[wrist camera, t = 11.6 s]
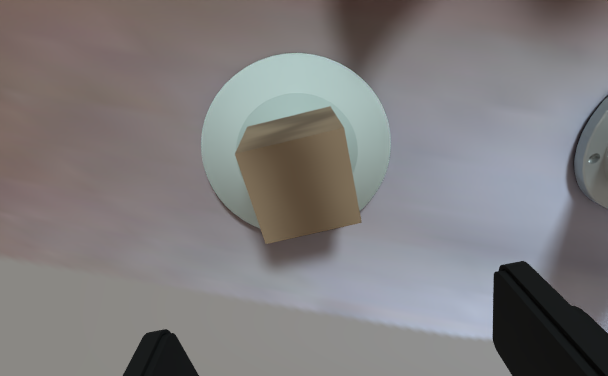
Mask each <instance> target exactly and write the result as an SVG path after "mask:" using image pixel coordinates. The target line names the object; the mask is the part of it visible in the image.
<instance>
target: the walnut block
mask: <svg viewBox="0 0 608 376" xmlns="http://www.w3.org/2000/svg"><path fill="white" fill-rule="evenodd" d="M235 156H236V159H237V162H238V165H239V168H240V171H241V174H242V177H243V180H244V183H245V185H246V188H247V191H248V194H249V197H250V200H251V203H252V206H253V209H254V211H255V214H256V217H257V220H258V223H259V226H260V229H261V232H262V235H263V237H264V240H265V243H266V244H269V243H273V242H278V241H282V240H287V239H291V238H296V237H300V236H304V235H309V234H313V233H318V232H322V231H327V230H331V229H335V228H340V227H344V226H349V225H353V224H358V223H362V222H361V217H360V211H359V206H358V200H357V195H356V189H355V184H354V178H353V173H352V168H351V162H350V157H349V151H348V146H347V140H346V135H345V130H344V127H343V125H342V124H341V122H340V120H339V119H338V117H337V116H336V114H335V113H334V111H333V110H332V108H331V107H330V106H329V107H325V108H321V109H317V110H313V111H309V112H305V113H301V114H297V115H293V116H289V117H284V118H280V119H276V120H272V121H268V122H264V123H260V124H256V125H252V126H248V127H247V128H246V131H245V133H244V135H243V137H242V139H241V141H240V144H239V146H238V148H237V150H236V152H235Z"/></svg>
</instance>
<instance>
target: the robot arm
mask: <svg viewBox="0 0 608 376" xmlns="http://www.w3.org/2000/svg"><path fill="white" fill-rule="evenodd" d="M574 165H575V176H576V180H577V183H578V185H579V187H580V189H581V190H582V192H583V193H584V194H585V195H586V196H587V197H588V198H589V199H590V200H592V201H594V202H595V203H597V204H599V205H601V206H603V207H605V208H607V209H608V97H607V98H606V99H605V100H604V101H603V102H602V103H601V104H600V106H599V107H598V108H597V110H596V111H595V112H594V114H593V115H592V116H591V118H590V120H589V121H588V123H587V125H586V127H585V128H584V130H583V132H582V135H581V137H580V140H579V143H578V145H577V149H576V155H575V160H574ZM493 342H494V345H495V348H496V350H497V352H498V354H499V355H500V357H501V358H502V360H503V361H504V363H505V365H506V366H507V368H508V369H509V371H510V372H511V374H512V376H608V333H607V332H606V331H605V330H604V329H603V328H601V327H600V326H599V325H598V324H597V323H596V322H595V321H594V320H593V319H592V318H591V317H590V316H589V315H588V314H587V313H585V312H584V311H583V310H582V309H580V308H578V307H576V306H571V305H570V304H569V303H568V302H567V301H566V300H565V299H564V298H563V297H562V296H561V295H560V294H559V293H558V292H557V291H556V290H555V289H554V288H552V287H551V286H550V285H549V284H548V283H547V282H546V281H545V280H544V279H543V278H542V277H541V276H540V275H539V274H538V273H537V272H536V271H535V270H534V269H533V268H532V267H531V266H530V265H529V264H528V263H526V262H524V261H520V262H515V263H510V264H505V265H501V266H500V267H499V271H498V272H495V273H494V293H493ZM123 376H199V375H198V374H197V372H196V370H195V368H194V366H193V365H192V363H191V361H190V360H189V358H188V356H187V354H186V352H185V351H184V349H183V347H182V345H181V344H180V342H179V340H178V338H177V337H176V335H175V334H174V333H170V331H168V330H167V329H165V330H159V331H154V332H149V333H146V334H145V335H144V336H143V338H142V340H141V342H140V344H139V346H138V348H137V350H136V351H135V353H134V355H133V357H132V359H131V361H130V363H129V365H128V367H127V369H126V371H125V373H124V374H123Z"/></svg>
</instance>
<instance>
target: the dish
mask: <svg viewBox="0 0 608 376" xmlns="http://www.w3.org/2000/svg"><path fill="white" fill-rule="evenodd" d="M329 106H330V107H331V108H332V110H333V111H334V113H335V114H336V116H337V117H338V119H339V120H340V122H341V124H342V125H343V127H344V130H345V135H346V140H347V146H348V151H349V157H350V162H351V168H352V173H353V178H354V184H355V189H356V195H357V200H358V206H359V211H360V210H362V209H363V208H364V207H365V206H366V205H367V203H368V202H369V201H370V200H371V199H372V198H373V196H374V195H375V193H376V192H377V190H378V189H379V187H380V185H381V183H382V181H383V179H384V176H385V174H386V171H387V168H388V163H389V159H390V150H391V137H390V129H389V124H388V120H387V117H386V114H385V111H384V109H383V107H382V105H381V103H380V101H379V99H378V97H377V96H376V95H375V93H374V92H373V90H372V89H371V88H370V87H369V85H368V84H367V83H366V82H365V81H364V80H363V79H362V78H361V77H359V76H358V75H357V74H356V73H354V72H353V71H352V70H350V69H349V68H347V67H345V66H343V65H342V64H340V63H338V62H335V61H333V60H330V59H328V58H326V57H322V56H318V55H314V54H306V53H284V54H279V55H274V56H270V57H267V58H264V59H261V60H259V61H257V62H255V63H253V64H251V65H249V66H247V67H246V68H244V69H243V70H241V71H240V72H239V73H237V74H236V75H234V76H233V77H232V78H231V79H230V80H229V81H228V82H227V83H226V84H225V85H224V86H223V88H222V89H221V90H220V91H219V93H218V94H217V95H216V97H215V99H214V100H213V102H212V104H211V105H210V108H209V110H208V113H207V115H206V117H205V121H204V125H203V129H202V138H201V152H202V160H203V165H204V169H205V172H206V175H207V178H208V180H209V182H210V184H211V186H212V188H213V190H214V191H215V193H216V194H217V196H218V197H219V198H220V200H221V201H222V202H223V203H224V204H225V206H226V207H227V208H229V209H230V210H231V211H232V212H233V213H234V214H235V215H237V216H238V217H239V218H241V219H242V220H244V221H246V222H247V223H249V224H251V225H253V226H255V227H258V228H260V226H259V223H258V220H257V217H256V214H255V211H254V209H253V206H252V203H251V200H250V197H249V194H248V191H247V188H246V185H245V183H244V180H243V177H242V174H241V171H240V168H239V165H238V162H237V159H236V156H235V152H236V150H237V148H238V146H239V144H240V141H241V139H242V137H243V135H244V133H245V131H246V128H247V127H248V126H252V125H256V124H260V123H264V122H268V121H272V120H276V119H280V118H284V117H289V116H293V115H297V114H301V113H305V112H309V111H313V110H317V109H321V108H325V107H329Z"/></svg>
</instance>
